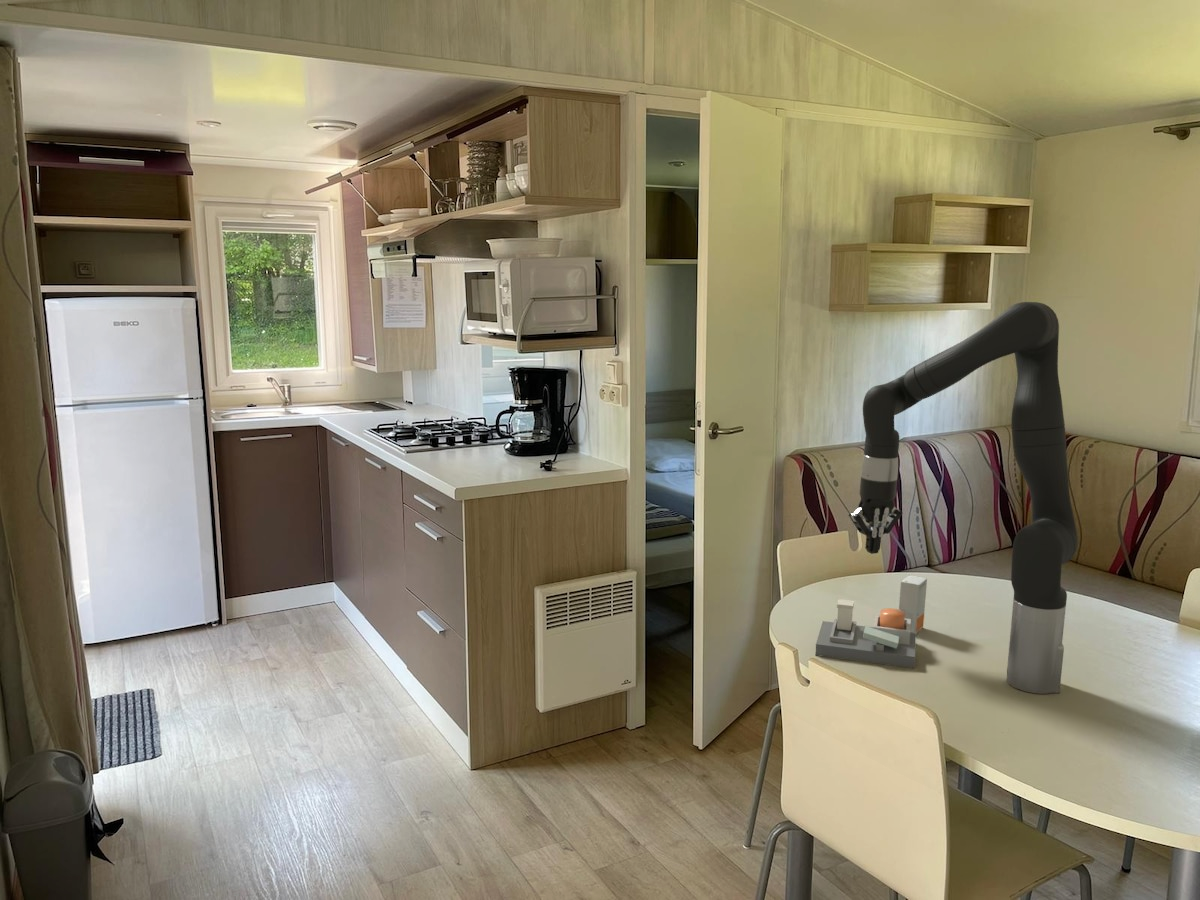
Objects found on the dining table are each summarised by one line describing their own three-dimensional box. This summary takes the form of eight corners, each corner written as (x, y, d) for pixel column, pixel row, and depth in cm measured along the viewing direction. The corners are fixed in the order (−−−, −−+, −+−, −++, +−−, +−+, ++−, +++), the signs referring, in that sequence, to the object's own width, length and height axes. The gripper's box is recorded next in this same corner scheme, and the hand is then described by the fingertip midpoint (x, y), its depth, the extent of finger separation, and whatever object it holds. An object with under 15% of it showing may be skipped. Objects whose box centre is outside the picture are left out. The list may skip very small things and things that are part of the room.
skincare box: (915, 635, 201) (919, 585, 199) (896, 631, 204) (900, 581, 202) (924, 627, 206) (927, 578, 204) (905, 623, 209) (908, 574, 206)
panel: (914, 643, 197) (916, 619, 196) (914, 668, 184) (916, 643, 183) (822, 631, 204) (823, 608, 203) (815, 655, 191) (816, 630, 190)
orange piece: (903, 631, 196) (905, 609, 195) (903, 640, 192) (904, 617, 191) (879, 628, 198) (881, 607, 197) (878, 636, 193) (880, 615, 192)
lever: (852, 625, 200) (854, 600, 199) (851, 631, 197) (853, 606, 196) (837, 623, 201) (838, 599, 200) (835, 629, 198) (837, 604, 197)
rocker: (897, 641, 190) (898, 636, 189) (896, 648, 186) (898, 643, 186) (864, 630, 192) (865, 625, 191) (862, 637, 188) (864, 632, 188)
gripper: (864, 482, 187) (857, 560, 191) (915, 477, 192) (908, 554, 195) (842, 474, 194) (836, 550, 197) (892, 470, 198) (886, 544, 202)
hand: (872, 552), depth 196 cm, fingers closed
